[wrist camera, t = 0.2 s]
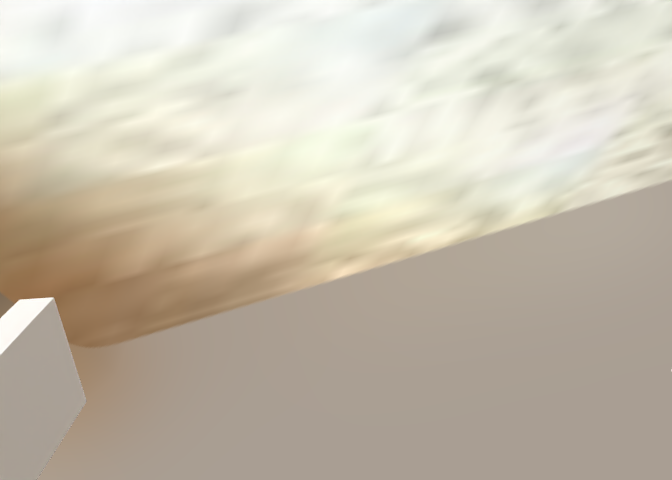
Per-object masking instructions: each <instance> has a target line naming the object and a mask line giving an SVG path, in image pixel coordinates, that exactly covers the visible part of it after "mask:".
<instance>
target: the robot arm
mask: <svg viewBox="0 0 672 480" xmlns="http://www.w3.org/2000/svg"><path fill="white" fill-rule="evenodd" d="M85 403H86V398H85V394H84V391H83V388H82V385H81V382H80V379H79V376H78V372H77V369H76V366H75V363H74V360H73V357H72V353H71V350H70V347H69V344H68V341H67V338H66V334H65V331H64V328H63V325H62V322H61V319H60V315H59V312H58V309H57V306H56V303H55V300H54V298H38V299H23V300H19V301H18V302H17V303H16V304H15V305H14V306H13V307H12V308H11V309H10V310H8V312H6V313H5V314H4V315H3V316H2V317H1V318H0V480H37V479H38V477H39V476H40V474H41V472H42V471H43V469H44V468H45V466H46V465H47V463H48V461H49V460H50V458H51V457H52V455H53V453H54V452H55V450H56V449H57V447H58V445H59V444H60V442H61V441H62V439H63V438H64V436H65V435H66V433H67V431H68V430H69V428H70V427H71V425H72V424H73V422H74V420H75V419H76V417H77V416H78V414H79V412H80V411H81V409H82V408H83V406H84V405H85Z"/></svg>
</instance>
